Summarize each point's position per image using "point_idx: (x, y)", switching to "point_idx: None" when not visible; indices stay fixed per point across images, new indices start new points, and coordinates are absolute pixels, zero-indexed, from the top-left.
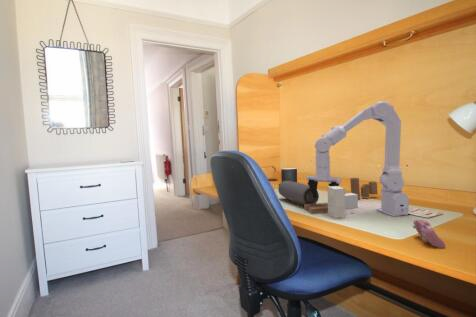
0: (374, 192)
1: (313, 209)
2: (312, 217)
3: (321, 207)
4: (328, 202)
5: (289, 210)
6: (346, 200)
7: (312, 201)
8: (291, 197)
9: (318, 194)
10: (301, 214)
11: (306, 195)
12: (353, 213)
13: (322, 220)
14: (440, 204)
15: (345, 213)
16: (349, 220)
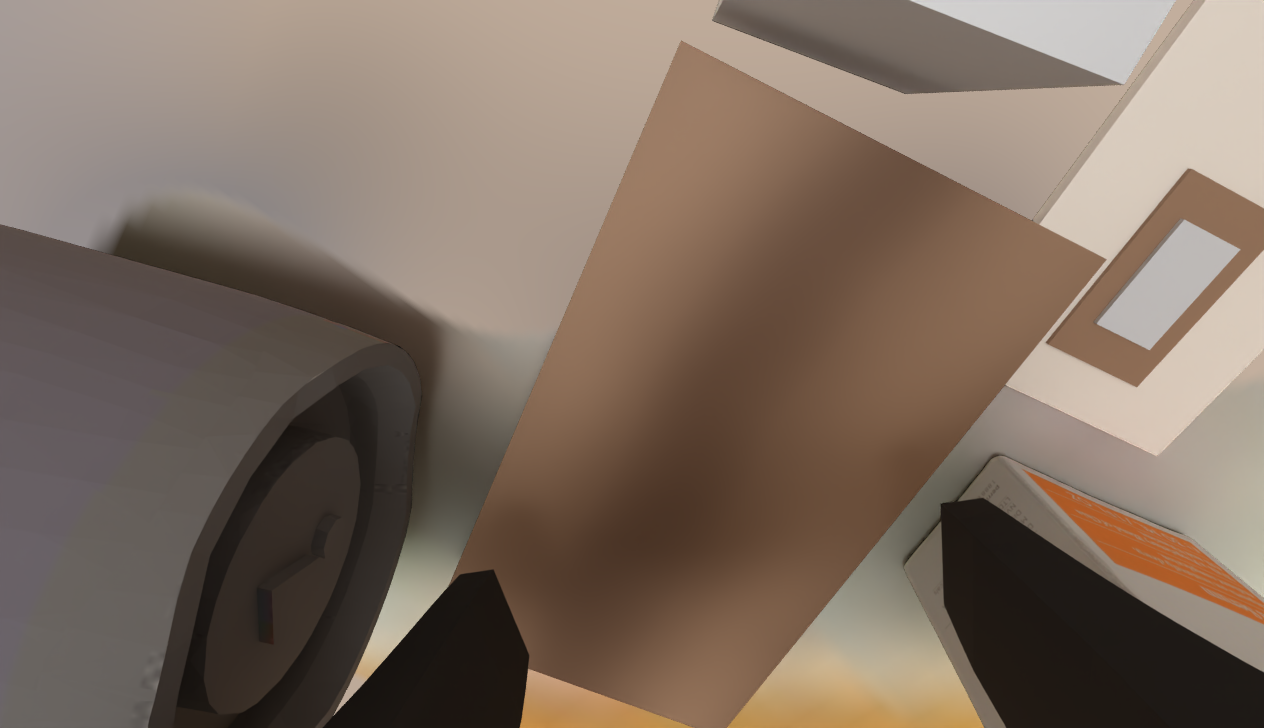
0: None
1: (729, 714)
2: (774, 704)
3: (767, 600)
4: None
5: (356, 673)
6: None
7: (334, 404)
8: None
9: (310, 383)
10: (593, 698)
11: (277, 680)
12: (1259, 232)
13: (936, 715)
14: None
15: (1113, 336)
16: (1254, 533)
